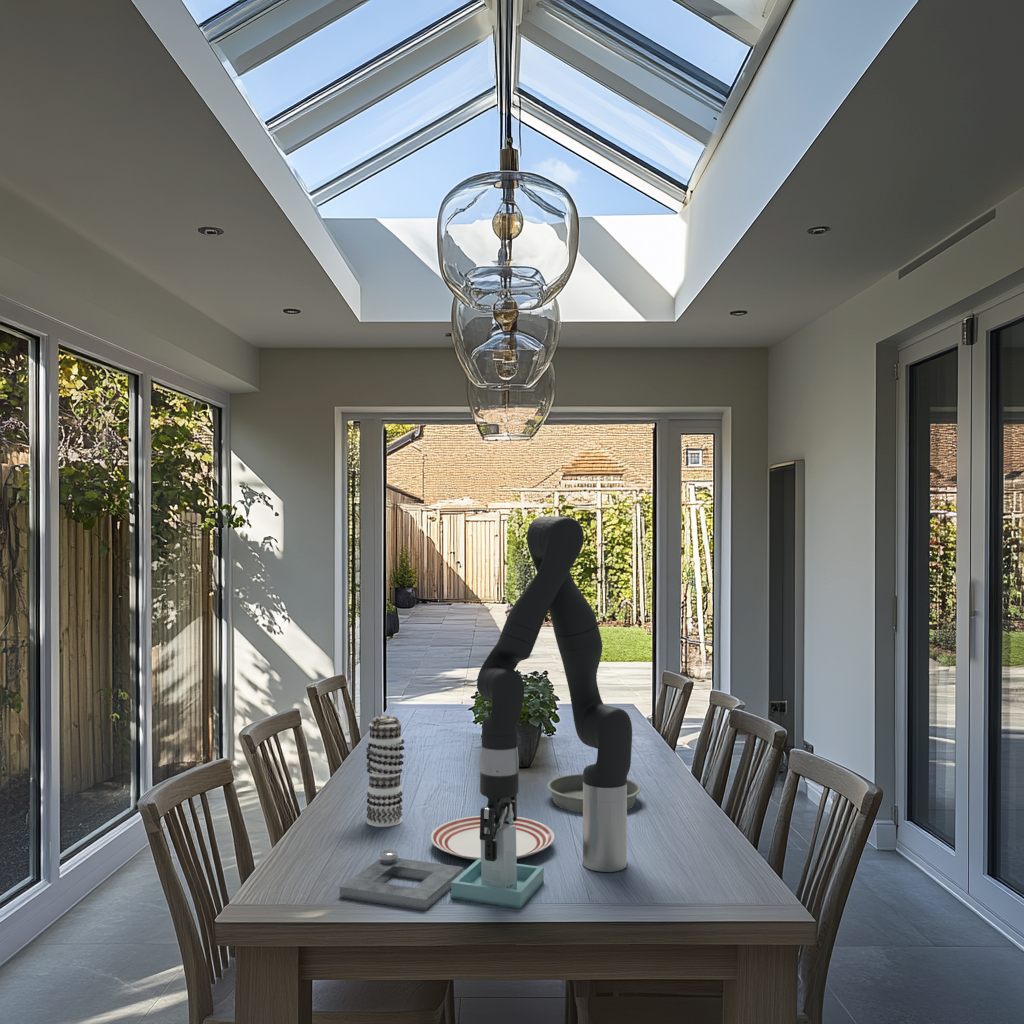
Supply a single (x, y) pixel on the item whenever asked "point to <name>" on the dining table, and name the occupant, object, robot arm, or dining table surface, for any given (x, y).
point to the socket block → (421, 897)
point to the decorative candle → (384, 772)
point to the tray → (474, 891)
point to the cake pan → (581, 792)
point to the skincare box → (501, 860)
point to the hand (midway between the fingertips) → (498, 853)
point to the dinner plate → (466, 842)
